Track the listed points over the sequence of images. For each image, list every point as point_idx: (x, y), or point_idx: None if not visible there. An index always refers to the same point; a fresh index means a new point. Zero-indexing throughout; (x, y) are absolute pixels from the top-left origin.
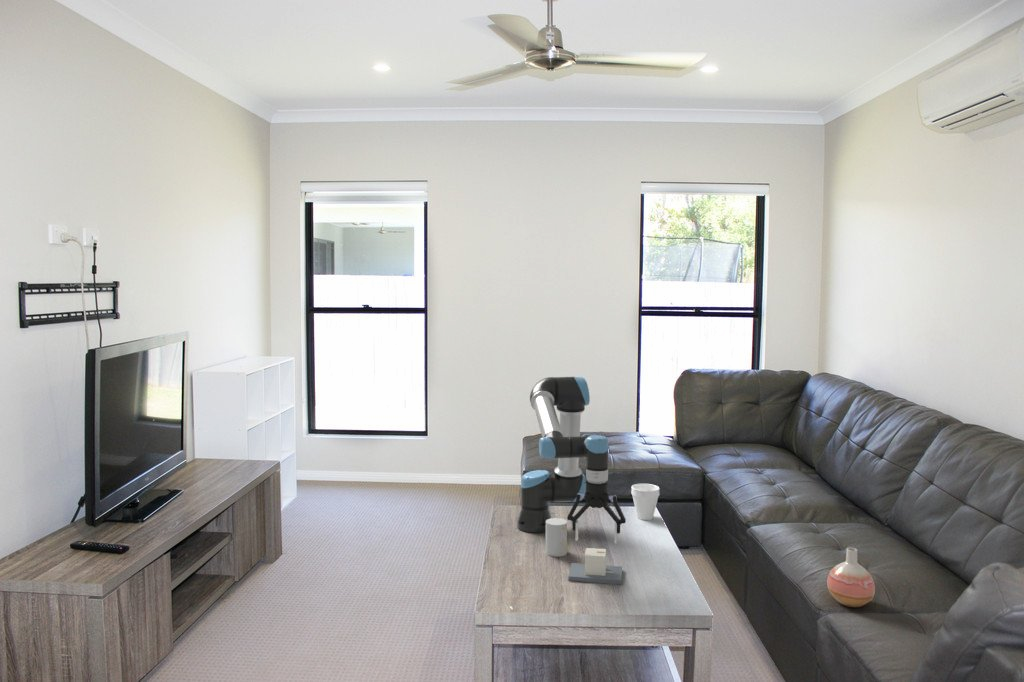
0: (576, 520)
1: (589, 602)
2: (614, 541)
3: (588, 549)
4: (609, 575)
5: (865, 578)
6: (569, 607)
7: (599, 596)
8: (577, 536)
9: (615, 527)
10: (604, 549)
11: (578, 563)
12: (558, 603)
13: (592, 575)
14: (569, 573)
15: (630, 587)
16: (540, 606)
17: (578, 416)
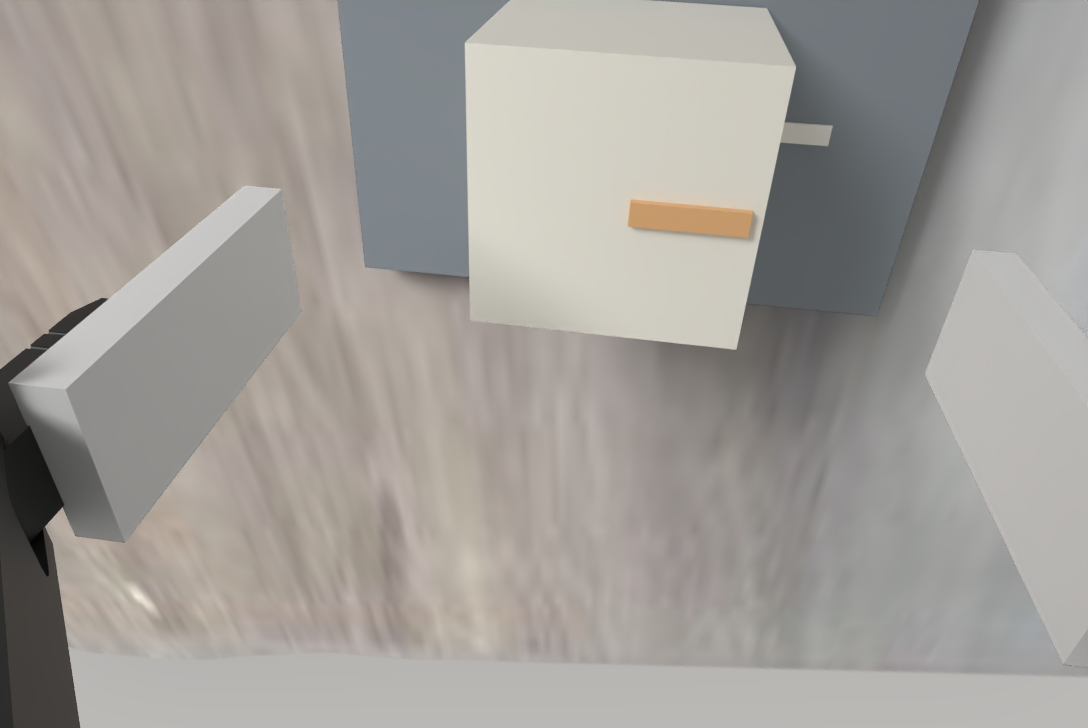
0: (27, 409)
1: (570, 556)
2: (936, 397)
3: (505, 104)
4: (772, 216)
5: None
6: (451, 603)
7: (642, 487)
8: (266, 352)
9: (1060, 616)
10: (765, 87)
11: None
12: (379, 566)
13: None
14: (362, 203)
15: None
16: (287, 593)
17: None
